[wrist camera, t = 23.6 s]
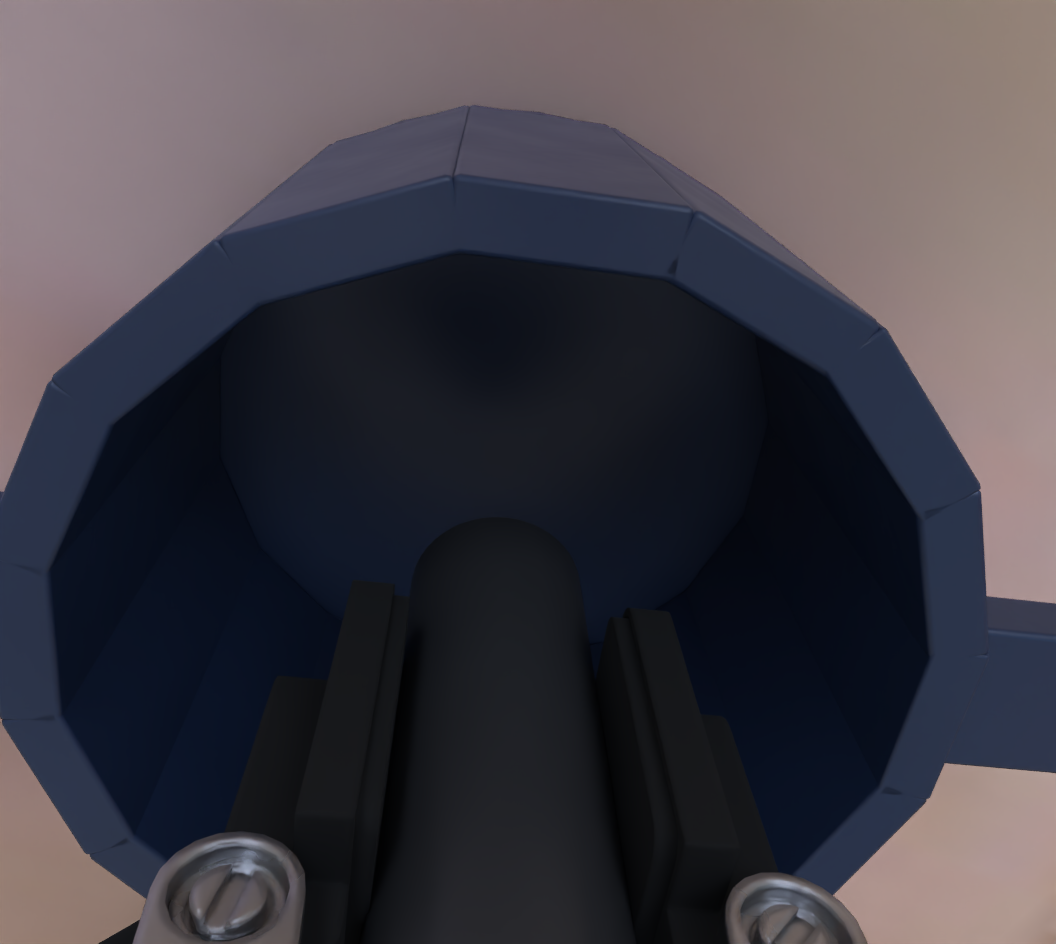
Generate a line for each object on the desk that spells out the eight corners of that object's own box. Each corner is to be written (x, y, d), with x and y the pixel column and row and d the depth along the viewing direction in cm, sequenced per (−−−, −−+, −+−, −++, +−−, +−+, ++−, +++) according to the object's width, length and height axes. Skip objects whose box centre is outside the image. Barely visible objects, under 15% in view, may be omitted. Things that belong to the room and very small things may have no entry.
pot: (22, 35, 16) (-388, 54, 9) (1007, 181, 18) (1386, 305, 10) (69, 635, 22) (-160, 971, 14) (825, 705, 23) (987, 1041, 16)
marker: (413, 499, 14) (120, 2283, 3) (600, 520, 14) (971, 2234, 3) (397, 655, 15) (143, 2348, 4) (571, 671, 15) (768, 2307, 4)
